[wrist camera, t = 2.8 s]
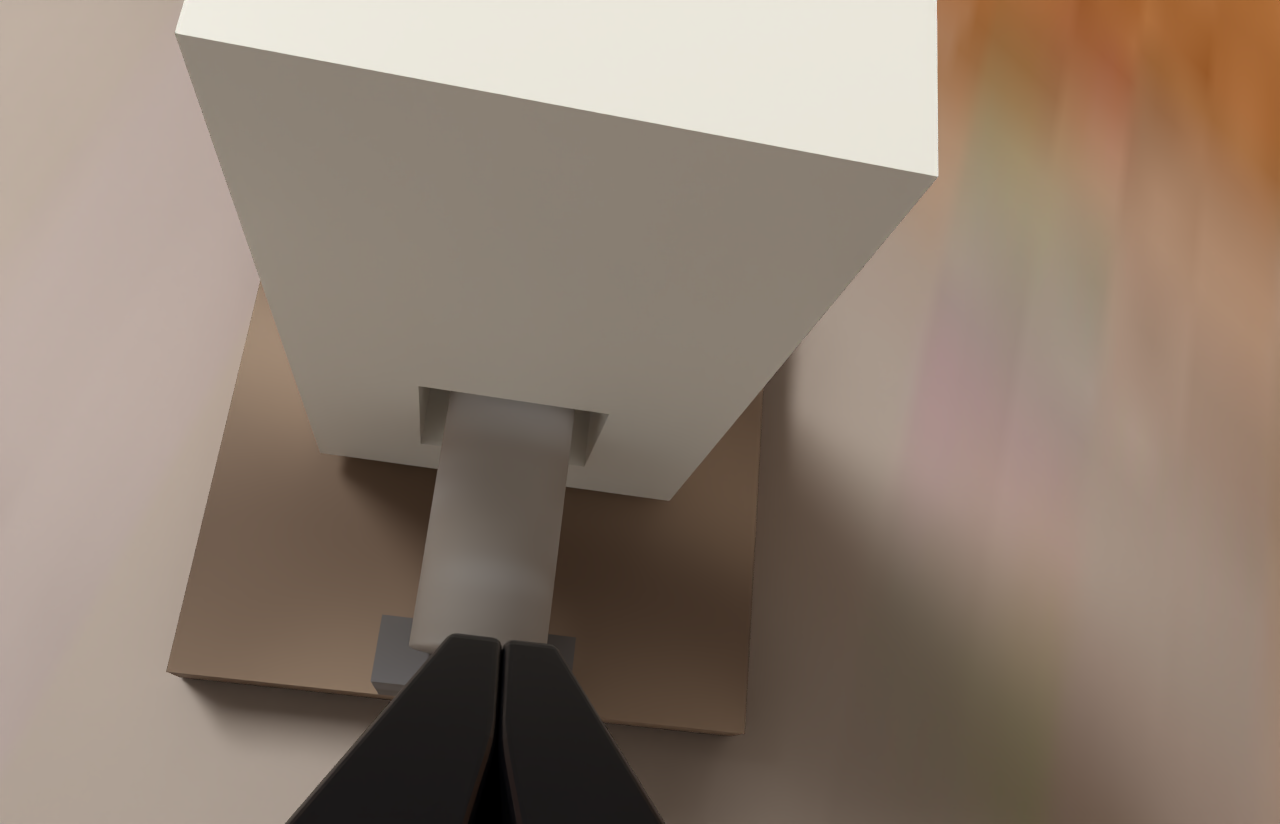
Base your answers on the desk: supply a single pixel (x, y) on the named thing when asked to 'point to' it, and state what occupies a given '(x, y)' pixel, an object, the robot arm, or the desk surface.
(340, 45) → the white upright block
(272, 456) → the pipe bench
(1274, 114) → the desk surface
